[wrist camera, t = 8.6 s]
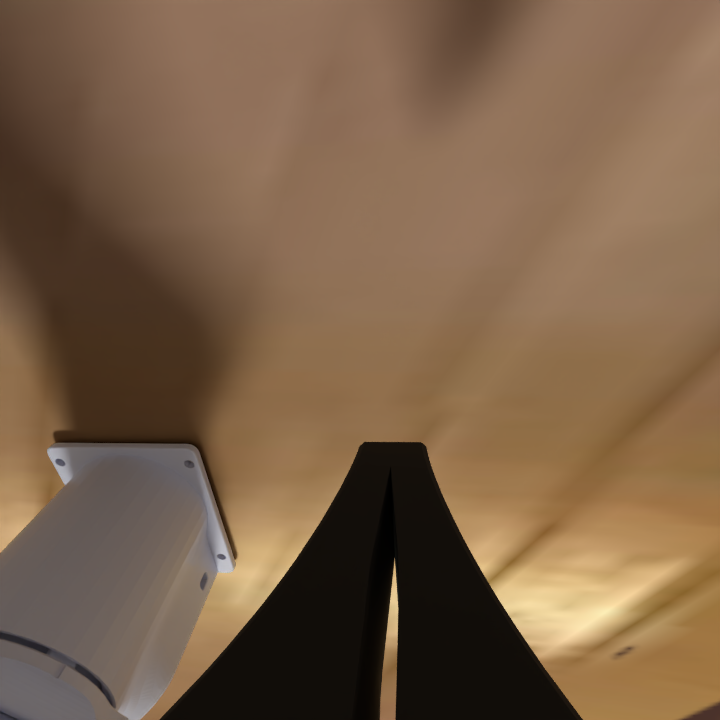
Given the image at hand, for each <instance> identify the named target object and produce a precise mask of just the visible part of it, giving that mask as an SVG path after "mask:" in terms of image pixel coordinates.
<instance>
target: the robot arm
mask: <svg viewBox="0 0 720 720" xmlns="http://www.w3.org/2000/svg"><path fill="white" fill-rule="evenodd" d="M47 453H48V455H49V457H50V459H51V461H52V463H53V464H54V466H55V468H56V470H57V472H58V473H59V475H60V477H61V479H62V481H63V482H64V484H65V486H64V487H63V488H62V489H61V490H60V491H59V492H58V494H57V495H56V496H55V497H54V498H53V499H52V500H51V501H50V502H49V503H48V504H47V505H46V506H45V507H44V508H43V509H42V510H41V511H40V512H39V513H38V514H37V515H36V516H35V517H34V519H33V520H32V521H31V522H30V523H29V524H28V525H27V526H26V527H25V528H24V529H23V530H22V531H21V532H20V533H19V534H18V535H17V536H16V537H15V538H14V539H13V540H12V541H11V543H10V544H9V545H8V546H7V547H6V548H5V549H4V550H3V551H2V552H1V553H0V720H140V719H141V718H142V717H143V716H144V715H145V714H146V713H147V712H148V711H149V710H150V709H151V708H152V707H153V706H154V705H155V704H156V702H157V701H158V700H159V698H160V697H161V696H162V694H163V693H164V692H165V690H166V689H167V687H168V685H169V684H170V682H171V680H172V678H173V676H174V674H175V672H176V669H177V667H178V665H179V662H180V660H181V657H182V655H183V653H184V650H185V648H186V646H187V643H188V641H189V639H190V636H191V634H192V632H193V629H194V627H195V625H196V622H197V620H198V617H199V615H200V613H201V610H202V608H203V606H204V603H205V601H206V599H207V596H208V594H209V592H210V589H211V587H212V585H213V582H214V580H215V577H216V575H217V573H218V572H220V573H230V572H232V571H233V570H234V568H235V566H236V562H235V559H234V556H233V553H232V550H231V547H230V544H229V541H228V538H227V535H226V532H225V529H224V526H223V523H222V520H221V517H220V514H219V511H218V508H217V504H216V501H215V498H214V495H213V492H212V489H211V486H210V483H209V480H208V477H207V474H206V471H205V468H204V465H203V462H202V459H201V456H200V453H199V451H198V449H197V448H196V447H195V446H193V445H191V444H146V443H54V444H53V445H51V446H50V447H49V448H48V450H47ZM190 461H192V462H190ZM394 559H395V566H396V580H397V594H398V608H399V610H398V651H397V689H396V720H583V719H582V718H581V717H580V715H579V714H578V713H577V711H576V710H575V709H574V707H573V706H572V705H571V703H570V702H569V701H568V699H567V698H566V697H565V695H564V694H563V693H562V691H561V690H560V689H559V687H558V686H557V684H556V683H555V682H554V680H553V679H552V678H551V676H550V675H549V674H548V672H547V671H546V670H545V668H544V667H543V665H542V664H541V663H540V661H539V660H538V658H537V657H536V655H535V654H534V652H533V651H532V649H531V648H530V647H529V645H528V644H527V642H526V641H525V639H524V638H523V636H522V635H521V633H520V632H519V630H518V629H517V628H516V626H515V624H514V623H513V621H512V620H511V618H510V617H509V615H508V614H507V612H506V610H505V609H504V607H503V606H502V604H501V603H500V601H499V600H498V598H497V596H496V595H495V593H494V591H493V590H492V588H491V587H490V585H489V583H488V581H487V580H486V578H485V576H484V575H483V573H482V571H481V570H480V568H479V566H478V564H477V562H476V561H475V559H474V557H473V555H472V554H471V552H470V550H469V548H468V546H467V544H466V543H465V541H464V539H463V537H462V535H461V533H460V531H459V529H458V527H457V525H456V523H455V521H454V519H453V517H452V515H451V513H450V510H449V508H448V506H447V504H446V502H445V500H444V498H443V495H442V493H441V491H440V488H439V486H438V483H437V481H436V478H435V475H434V473H433V470H432V467H431V464H430V461H429V457H428V453H427V448H426V446H425V445H424V444H423V443H421V442H364V443H363V444H362V445H360V447H359V449H358V452H357V455H356V457H355V459H354V462H353V464H352V466H351V468H350V470H349V472H348V474H347V476H346V478H345V480H344V482H343V484H342V486H341V488H340V490H339V491H338V493H337V495H336V497H335V498H334V500H333V502H332V503H331V505H330V507H329V509H328V510H327V512H326V514H325V516H324V517H323V519H322V521H321V522H320V524H319V525H318V527H317V528H316V530H315V531H314V533H313V534H312V536H311V538H310V539H309V541H308V542H307V544H306V545H305V547H304V548H303V550H302V551H301V553H300V554H299V556H298V557H297V559H296V560H295V561H294V563H293V564H292V566H291V567H290V568H289V570H288V571H287V573H286V574H285V575H284V577H283V578H282V579H281V581H280V582H279V584H278V585H277V586H276V587H275V589H274V590H273V591H272V593H271V594H270V595H269V597H268V598H267V599H266V600H265V602H264V603H263V604H262V606H261V607H260V608H259V609H258V611H257V612H256V613H255V614H254V615H253V617H252V618H251V619H250V620H249V621H248V623H247V624H246V625H245V626H244V627H243V629H242V630H241V631H240V632H239V633H238V634H237V636H236V637H235V638H234V639H233V640H232V642H231V643H230V644H229V645H228V646H227V648H226V649H225V650H224V651H223V652H222V653H221V654H220V656H219V657H218V658H217V659H216V660H215V661H214V662H213V663H212V665H211V666H210V667H209V668H208V669H207V670H206V671H205V672H204V673H203V675H202V676H201V677H200V678H199V679H198V680H197V681H196V682H195V683H194V684H193V685H192V686H191V687H190V688H189V689H188V690H187V691H186V692H185V693H184V694H183V695H182V697H181V698H180V699H179V700H178V701H177V702H176V703H175V704H174V705H173V706H172V707H171V708H170V709H169V710H168V711H167V712H166V713H165V714H164V715H163V716H162V718H161V719H160V720H380V696H381V682H382V669H383V660H384V651H385V642H386V633H387V623H388V614H389V605H390V596H391V587H392V577H393V568H394Z"/></svg>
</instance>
